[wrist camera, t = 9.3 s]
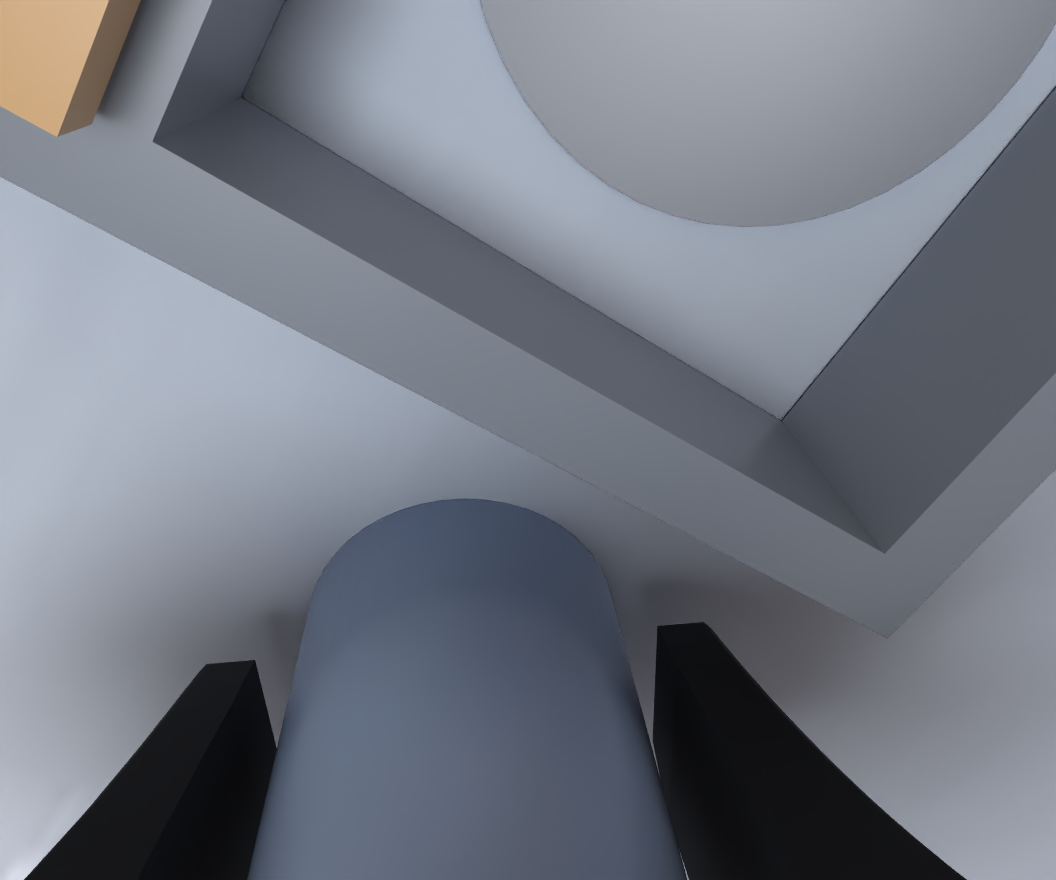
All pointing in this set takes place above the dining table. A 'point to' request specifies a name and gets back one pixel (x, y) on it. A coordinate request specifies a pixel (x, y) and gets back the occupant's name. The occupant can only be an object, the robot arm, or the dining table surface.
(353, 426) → the dining table surface
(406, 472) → the dining table surface
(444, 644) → the blue-grey cylinder
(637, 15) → the housing
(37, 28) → the lid
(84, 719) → the dining table surface
